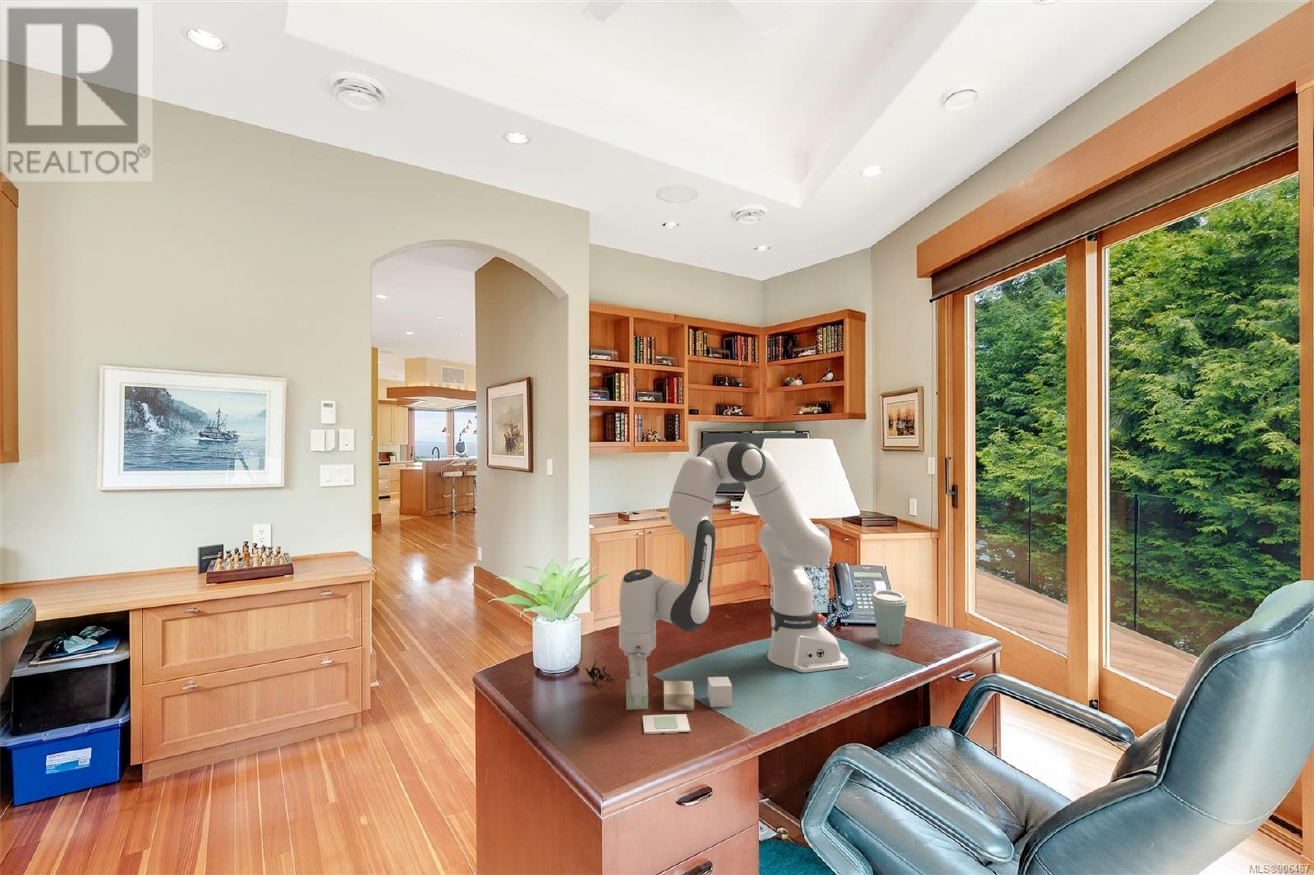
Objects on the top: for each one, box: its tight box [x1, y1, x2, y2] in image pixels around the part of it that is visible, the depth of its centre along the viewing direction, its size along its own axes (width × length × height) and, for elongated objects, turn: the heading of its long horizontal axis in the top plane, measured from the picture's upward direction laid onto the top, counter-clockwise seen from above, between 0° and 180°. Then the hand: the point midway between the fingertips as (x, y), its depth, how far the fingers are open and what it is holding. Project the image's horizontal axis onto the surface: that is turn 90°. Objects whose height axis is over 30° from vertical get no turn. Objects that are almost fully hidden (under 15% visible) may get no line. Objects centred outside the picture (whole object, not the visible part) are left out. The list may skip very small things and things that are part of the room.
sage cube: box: [625, 678, 649, 711], centre depth 132 cm, size 5×5×5 cm
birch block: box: [663, 680, 695, 711], centre depth 133 cm, size 7×7×4 cm
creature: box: [583, 659, 615, 691], centre depth 143 cm, size 8×5×8 cm
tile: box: [642, 713, 691, 735], centre depth 122 cm, size 10×7×1 cm
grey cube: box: [707, 676, 733, 708], centre depth 134 cm, size 5×5×5 cm
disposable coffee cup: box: [870, 589, 908, 646], centre depth 174 cm, size 11×11×15 cm
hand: (637, 697), depth 132 cm, fingers open, 6 cm apart
